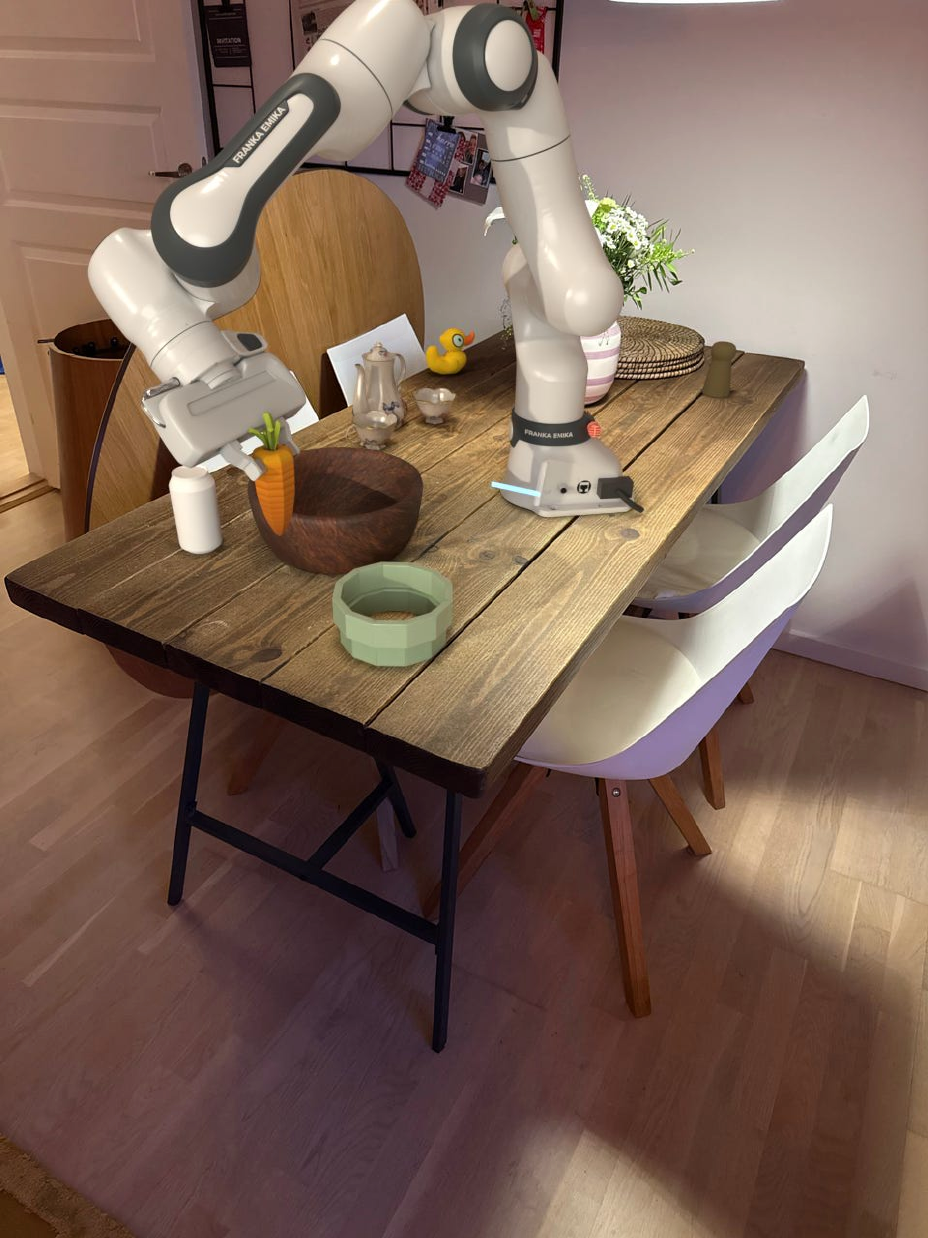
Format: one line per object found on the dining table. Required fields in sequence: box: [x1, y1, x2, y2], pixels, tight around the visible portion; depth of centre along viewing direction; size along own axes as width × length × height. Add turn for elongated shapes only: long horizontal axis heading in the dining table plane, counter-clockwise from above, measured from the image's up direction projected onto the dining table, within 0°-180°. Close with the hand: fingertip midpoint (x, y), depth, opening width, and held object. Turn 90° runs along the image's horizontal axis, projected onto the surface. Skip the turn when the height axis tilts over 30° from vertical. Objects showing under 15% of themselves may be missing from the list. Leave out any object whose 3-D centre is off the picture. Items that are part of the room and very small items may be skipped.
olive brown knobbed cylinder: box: [701, 340, 737, 398], centre depth 189 cm, size 6×6×11 cm
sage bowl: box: [331, 561, 454, 667], centre depth 109 cm, size 15×15×7 cm
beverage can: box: [168, 464, 224, 555], centre depth 125 cm, size 6×6×12 cm
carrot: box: [249, 413, 295, 536], centre depth 101 cm, size 5×5×15 cm
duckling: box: [425, 327, 476, 375], centre depth 195 cm, size 11×5×10 cm, turn 111°
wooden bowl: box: [246, 446, 424, 576], centre depth 127 cm, size 25×25×10 cm
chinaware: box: [345, 340, 458, 451], centre depth 165 cm, size 28×17×17 cm, turn 148°
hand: (278, 466), depth 100 cm, fingers closed on carrot, 5 cm apart
